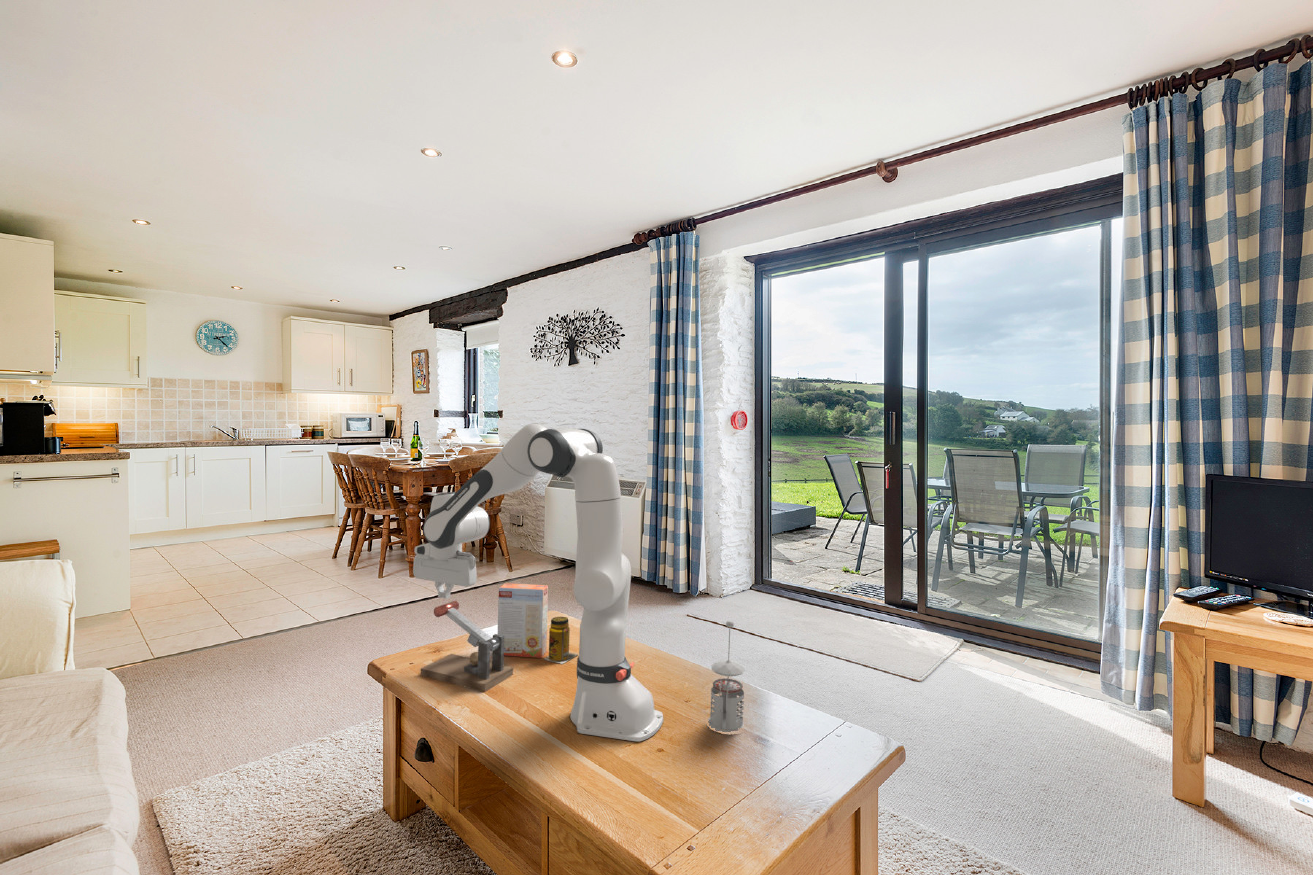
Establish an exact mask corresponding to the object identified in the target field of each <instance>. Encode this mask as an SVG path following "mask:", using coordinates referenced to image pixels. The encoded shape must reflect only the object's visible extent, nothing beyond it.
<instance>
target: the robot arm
mask: <svg viewBox="0 0 1313 875" xmlns="http://www.w3.org/2000/svg"><path fill="white" fill-rule="evenodd" d="M539 472H541V473H545V474H548V475H552V476H556V477H558V478H564V477H566V476H568V477H569V478H570V479H571V480H572V483H573V486H574V497H575V498H574V500H575V510H576V511H575V512H576V513H575V514H576V526H577V527H576V528H577V529H576V530H577V540H576V542H577V544H576V552H575V553H576V555H575V576H574V583H573V595H574V598H575V600H576V602H577V604H579V606H580V607H582V609H583V612H582V617H581V622H580V623H579V646H578V647H579V648H578V650H579V651H578V654H579V655H577V656H578V657H576V658H577V660H576V678H577V682H576V692H575V695H574V696H575V697H574V701H573V706H572V708H571V712H570V720H571V721H572V723H573V724H574V725H575V726H576V731H577V733H579V734H583V735H588V736H589V735H590V736H595V737H596V736H597V737H603V738H604V737H605V738H610V739H611V738H612V739H617V740H626V741H632V742H642V741H645V740H647V739H649V738H651V737H652V736H654V735H655V734H656V733H657V732H658V731H659V730H660V728H661V727H662V726H663V724H662V723H664V714H663V712H662V711H659V710H657V709H655V703H654V698H653V694H652V693H651V692H650V691H649V690H648V689H647V688H646V687H645V686H644V685H643V684H642V683H641V682H640V681H639V680H638V679H637V678H635V676H634V675H633V674H632V669H634V668H633V667H635V665H634V663H635V662H634V661H632V662H631V663H629V662H628V659H627V658H626V655H625V654H626V628H627V618H628V612H629V611H628V610H629V600H630V592H631V590H630V589H631V580H632V565H631V562H630V560H629V558H628V557H627V556H626V555H625V554H624V553H622V552H623V536H624V535H623V534H624V518H623V506H622V505H623V504H622V493H621V486H620V480H619V475H618V471H617V466H616V464H615V461H614V459H613V458H612V457H611V456H609V455H607V454H605V453H604V452H603V443H602V440H601V438H600V437H599V436H598V434H597V433H596V432H594V431H591V430H589V429H586V428H570V427H559V428H547V427H546V426H544V425H542V424H540V423H528V424H526V425H525V426H523V427H522V428H521V429H519V430H518V431H517V432H515V434H514V435H513V436H511V437H510V439H509V440H507V442H506V443H505V444H504V446H503V447H502V448H501V450H499V452H498V453H497V454H496V455H495V456H494V457H493V458H492V459H491V460H489V462H488V463H486V465H484V466H483V467H482V468H481V469H480V470H478V471H477V472H476V473H475V474H473V475H472V476H471V477H470V478H469V479H468V480H467V481H465V482H464V484H462V485H461V487H459V489H458V490H457V491H451V492H442V493H438V494H436V495H434V496H433V497H432V499H431V505H430V510H429V511H430V512H429V514H428V515H427V517H426V518H425V520H424V523H423V528H422V530H423V536H424V538H425V540H426V541H427V542H426V543H423V544H420V545H417V546H415V547H414V554H415V556H414V557H413V567H412V574H413V576H414V578H415V579H419V580H424V581H431V582H434V587H435V588H436V590H437V597H438V598H440V599H445V600H447V599H451V592H452V590H453V589H454V587H455V586H460V587H466V588H468V587H472V586H474V585H475V584H476V583H477V580H478V576H477V575H478V573H477V564H476V557H475V556H474V555H473V554H472V552H469V551H463V544H465V543H466V544H467V543H469V542H474V541H475V542H476V541H478V540H481V539H484V538H485V537H486V536H487V534H488V533H489V530H490V525H491V521H490V516H489V513H488V512H487V511H486V509H484V508H483V507H482V506H479V505H480V504H482V503H483V502H486V501H487V500H490V499H492V498H495V497H498V496H502V495H505V494H511V493H513V492H514V493H515V492H516V491H519V490H521V489H523V488H524V487H525V486H527V485H528V484H529V483H530V482H532V480H533V479H534V478H535V477H536V476H537V475H538V474H539Z"/></svg>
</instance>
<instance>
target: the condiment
mask: <svg viewBox="0 0 1313 875" xmlns="http://www.w3.org/2000/svg"><path fill="white" fill-rule="evenodd" d="M569 624H570V623H569V618H568V617H565V616H555V617H552V618H551V619H550V627H549V630H548V631H549V636H548V643H549V644H548V656H546V657H545V658H543V660H544V661H547V662H548V661H549V662H551V663H557V664H560V665H563V664H565V663H567V662H569V661H570V660H572V659H573V658H577V656H579V653H573V652H570V631H571V629H570V627H569Z"/></svg>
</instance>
